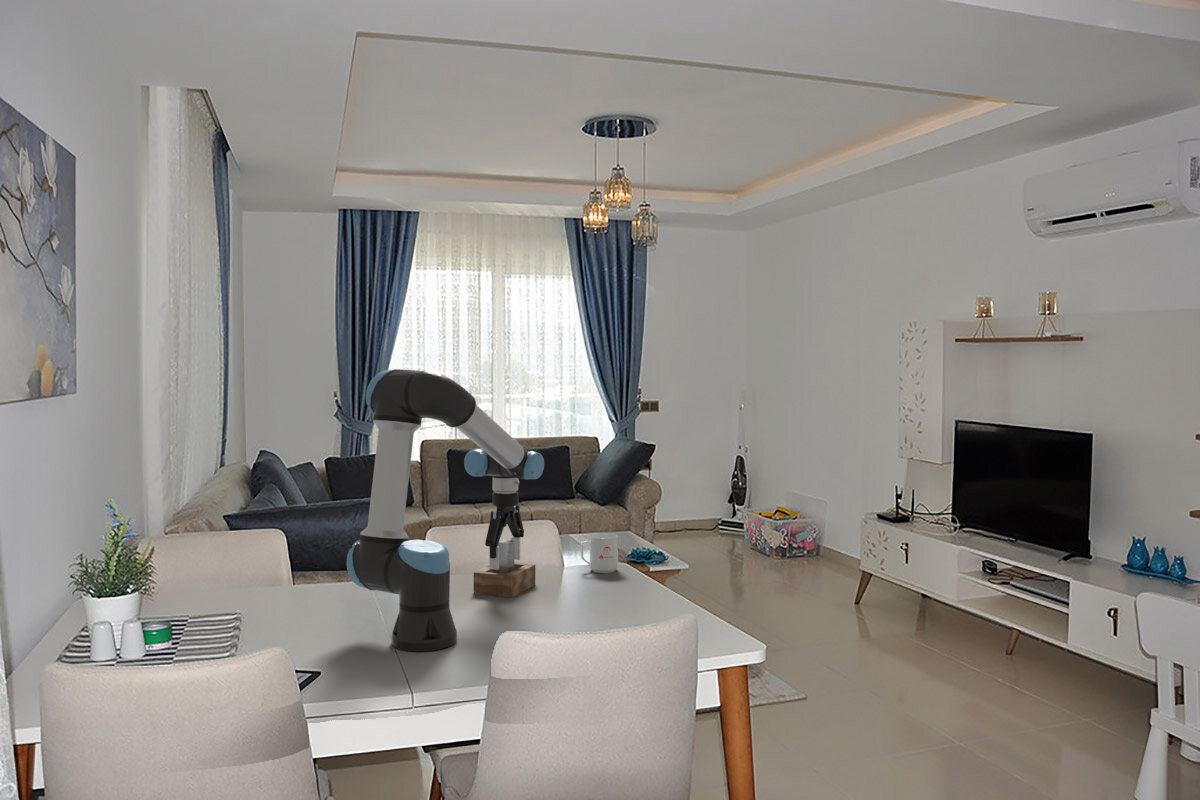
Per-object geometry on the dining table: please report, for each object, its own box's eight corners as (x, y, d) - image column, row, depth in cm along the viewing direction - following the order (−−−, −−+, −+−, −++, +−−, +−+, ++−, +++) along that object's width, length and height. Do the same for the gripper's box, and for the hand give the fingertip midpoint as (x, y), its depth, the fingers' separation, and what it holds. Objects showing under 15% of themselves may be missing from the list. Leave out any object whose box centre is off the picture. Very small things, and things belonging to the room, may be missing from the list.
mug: (612, 566, 299) (613, 532, 298) (621, 572, 290) (621, 537, 290) (576, 568, 295) (577, 534, 295) (584, 575, 287) (584, 539, 286)
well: (511, 597, 259) (511, 576, 259) (473, 593, 263) (473, 572, 263) (535, 584, 274) (535, 564, 274) (499, 580, 278) (499, 560, 278)
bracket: (508, 591, 266) (508, 543, 265) (495, 589, 268) (495, 541, 267) (518, 585, 273) (519, 538, 272) (506, 584, 274) (506, 537, 273)
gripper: (497, 498, 254) (496, 574, 255) (535, 486, 278) (535, 556, 279) (473, 496, 257) (472, 572, 258) (513, 485, 280) (512, 554, 281)
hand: (505, 564), depth 268 cm, fingers open, 13 cm apart
